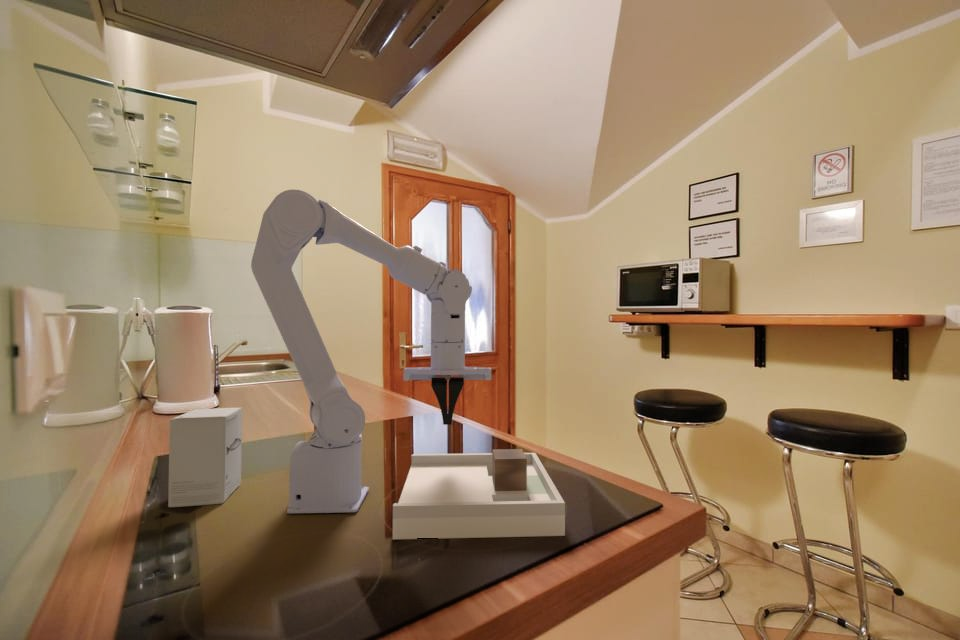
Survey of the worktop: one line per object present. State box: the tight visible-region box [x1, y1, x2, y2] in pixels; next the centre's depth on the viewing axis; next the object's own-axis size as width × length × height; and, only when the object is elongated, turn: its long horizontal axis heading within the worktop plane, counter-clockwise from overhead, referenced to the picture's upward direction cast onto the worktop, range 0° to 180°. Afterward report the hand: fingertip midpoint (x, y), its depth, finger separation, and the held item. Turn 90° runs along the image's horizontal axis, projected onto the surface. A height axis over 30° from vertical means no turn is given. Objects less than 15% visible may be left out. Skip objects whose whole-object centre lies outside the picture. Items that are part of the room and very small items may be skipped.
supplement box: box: [167, 407, 243, 508], centre depth 62 cm, size 7×7×13 cm
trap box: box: [392, 452, 566, 540], centre depth 60 cm, size 21×20×4 cm
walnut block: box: [491, 448, 527, 491], centre depth 60 cm, size 4×4×4 cm
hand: (447, 423), depth 69 cm, fingers closed
